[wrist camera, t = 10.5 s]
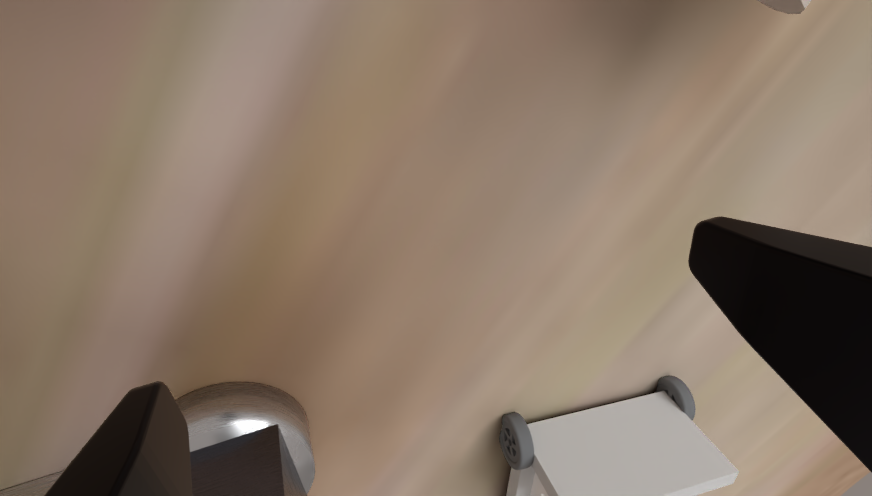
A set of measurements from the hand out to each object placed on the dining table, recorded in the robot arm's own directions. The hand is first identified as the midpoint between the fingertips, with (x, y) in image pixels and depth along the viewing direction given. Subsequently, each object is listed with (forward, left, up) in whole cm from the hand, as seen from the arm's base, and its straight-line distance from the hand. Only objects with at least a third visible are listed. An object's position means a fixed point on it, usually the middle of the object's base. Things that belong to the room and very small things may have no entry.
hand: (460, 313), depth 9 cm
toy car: (-10, +28, -13) cm, 33 cm away
